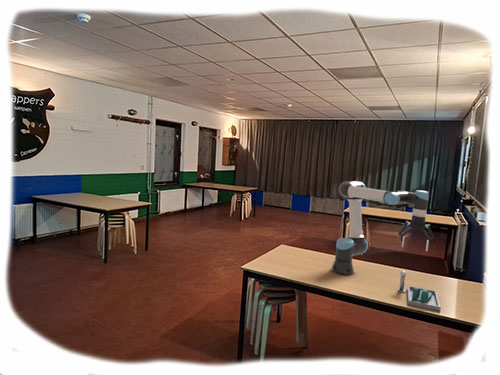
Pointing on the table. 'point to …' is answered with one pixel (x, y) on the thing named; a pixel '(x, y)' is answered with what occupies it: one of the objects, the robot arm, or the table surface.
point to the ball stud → (402, 282)
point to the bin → (431, 304)
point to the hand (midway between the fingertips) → (414, 248)
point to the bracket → (421, 295)
